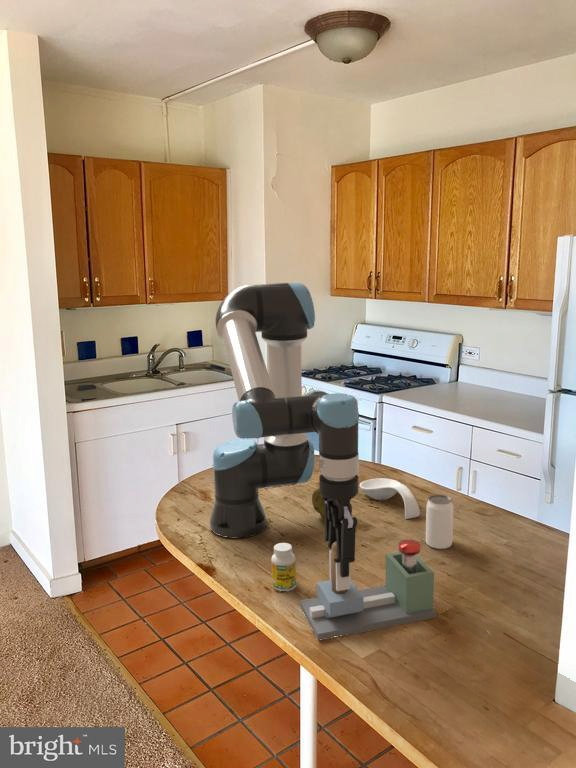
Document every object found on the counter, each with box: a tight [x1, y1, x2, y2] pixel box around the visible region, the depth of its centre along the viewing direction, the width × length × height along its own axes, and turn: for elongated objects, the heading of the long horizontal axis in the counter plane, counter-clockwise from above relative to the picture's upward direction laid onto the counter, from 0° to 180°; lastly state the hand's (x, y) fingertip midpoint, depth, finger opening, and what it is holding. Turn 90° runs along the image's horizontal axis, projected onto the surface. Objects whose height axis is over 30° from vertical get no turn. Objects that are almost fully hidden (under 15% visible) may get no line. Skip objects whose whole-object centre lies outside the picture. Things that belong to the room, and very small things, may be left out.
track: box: [299, 551, 436, 641], centre depth 129 cm, size 12×25×10 cm, turn 105°
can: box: [425, 494, 454, 550], centre depth 157 cm, size 6×6×12 cm
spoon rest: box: [359, 477, 421, 520], centre depth 183 cm, size 24×12×7 cm, turn 24°
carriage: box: [316, 541, 363, 618], centre depth 127 cm, size 8×7×15 cm
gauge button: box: [398, 539, 422, 574], centre depth 131 cm, size 4×4×9 cm
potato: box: [311, 487, 353, 521], centre depth 173 cm, size 8×13×8 cm, turn 19°
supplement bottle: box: [271, 542, 297, 592], centre depth 140 cm, size 5×5×10 cm
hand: (339, 583), depth 127 cm, fingers closed on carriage, 3 cm apart
